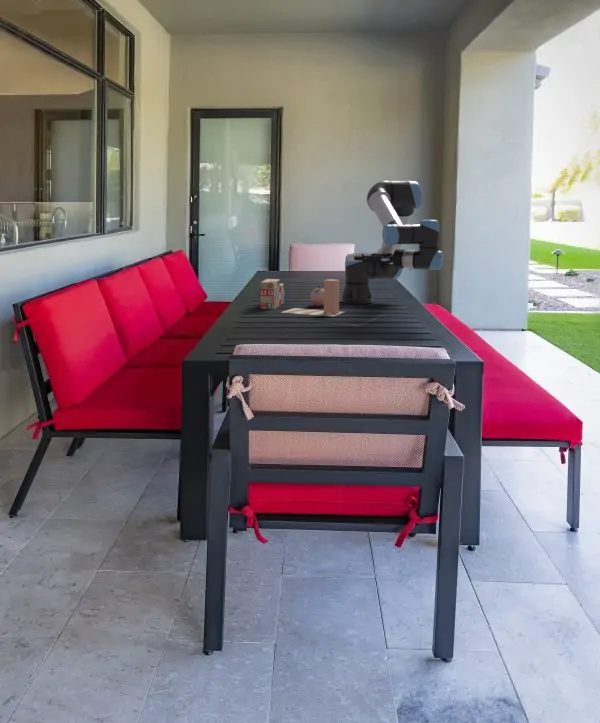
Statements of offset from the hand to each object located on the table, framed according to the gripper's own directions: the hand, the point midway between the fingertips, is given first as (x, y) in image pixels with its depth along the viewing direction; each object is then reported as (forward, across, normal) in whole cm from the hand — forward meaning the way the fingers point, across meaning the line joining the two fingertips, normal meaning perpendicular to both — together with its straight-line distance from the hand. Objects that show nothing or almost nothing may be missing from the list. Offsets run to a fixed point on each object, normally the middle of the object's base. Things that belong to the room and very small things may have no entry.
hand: (351, 256), depth 314 cm
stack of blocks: (+43, +14, -25) cm, 52 cm away
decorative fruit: (+21, +18, -25) cm, 38 cm away
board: (+17, -1, -25) cm, 30 cm away
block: (+8, 0, -24) cm, 25 cm away
